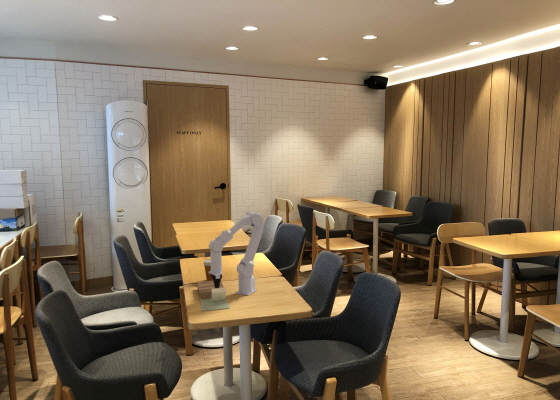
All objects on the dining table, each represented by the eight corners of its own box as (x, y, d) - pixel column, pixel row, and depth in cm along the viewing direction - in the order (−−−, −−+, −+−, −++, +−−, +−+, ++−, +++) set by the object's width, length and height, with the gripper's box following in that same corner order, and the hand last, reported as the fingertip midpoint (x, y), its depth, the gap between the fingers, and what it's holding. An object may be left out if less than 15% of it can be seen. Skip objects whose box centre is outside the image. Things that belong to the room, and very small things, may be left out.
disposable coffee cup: (201, 282, 253) (200, 262, 252) (208, 277, 262) (207, 258, 261) (215, 283, 250) (215, 263, 249) (222, 278, 259) (222, 259, 258)
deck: (197, 288, 240) (197, 281, 240) (220, 286, 243) (220, 280, 243) (200, 300, 221) (199, 292, 221) (225, 297, 225) (225, 290, 224)
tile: (211, 288, 216) (212, 292, 214) (225, 287, 217) (226, 291, 216) (211, 297, 220) (211, 301, 218) (224, 295, 222) (225, 299, 220)
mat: (200, 299, 222) (200, 299, 222) (225, 297, 225) (225, 296, 225) (202, 311, 205) (202, 310, 205) (229, 308, 209) (229, 307, 209)
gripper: (207, 260, 230) (208, 285, 231) (209, 267, 216) (210, 293, 217) (220, 259, 231) (221, 283, 233) (223, 265, 217) (224, 292, 219)
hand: (216, 288), depth 225 cm, fingers closed
